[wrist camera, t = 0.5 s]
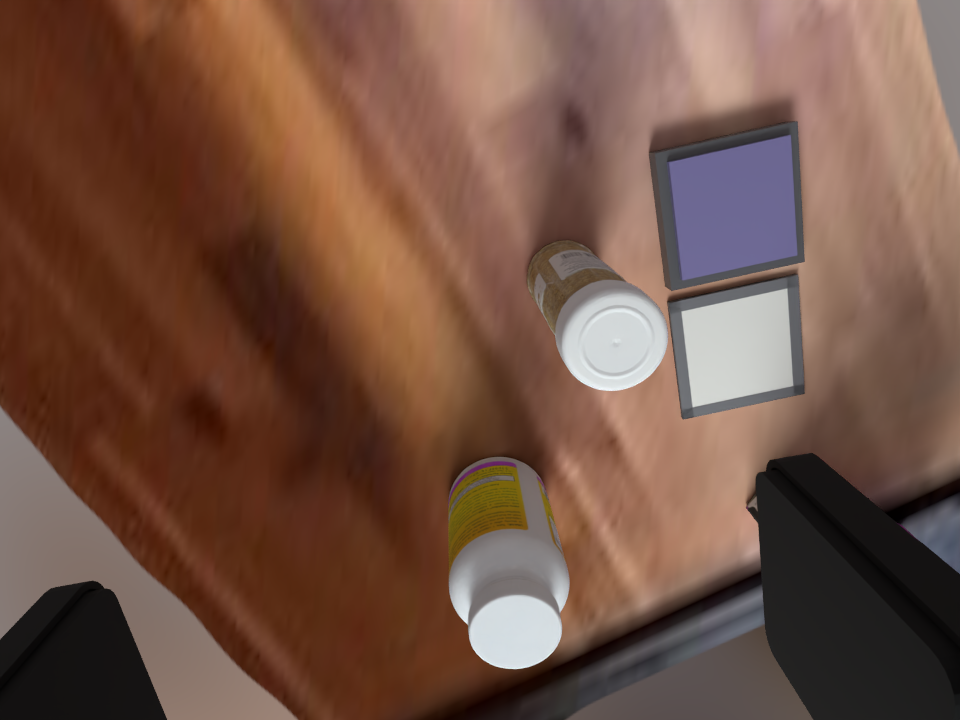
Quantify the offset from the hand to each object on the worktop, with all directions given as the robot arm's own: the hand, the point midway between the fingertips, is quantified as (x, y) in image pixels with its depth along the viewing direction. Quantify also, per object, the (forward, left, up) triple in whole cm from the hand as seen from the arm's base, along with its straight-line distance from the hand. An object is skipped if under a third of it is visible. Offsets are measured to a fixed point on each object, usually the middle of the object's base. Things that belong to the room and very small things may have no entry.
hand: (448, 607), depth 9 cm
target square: (+10, +16, -31) cm, 37 cm away
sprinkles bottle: (+3, +6, -32) cm, 32 cm away
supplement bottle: (+17, -1, -32) cm, 36 cm away
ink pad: (+1, +16, -31) cm, 35 cm away
